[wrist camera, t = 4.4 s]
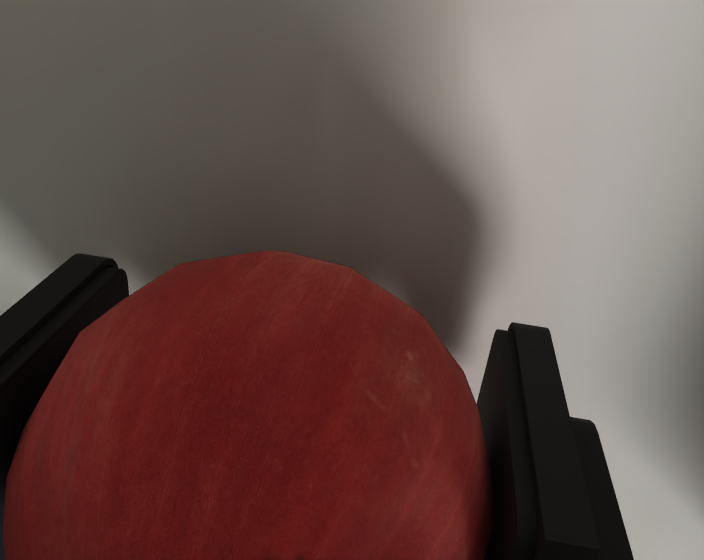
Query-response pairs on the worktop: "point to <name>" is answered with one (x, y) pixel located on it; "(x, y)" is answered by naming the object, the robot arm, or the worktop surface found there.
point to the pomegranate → (253, 427)
